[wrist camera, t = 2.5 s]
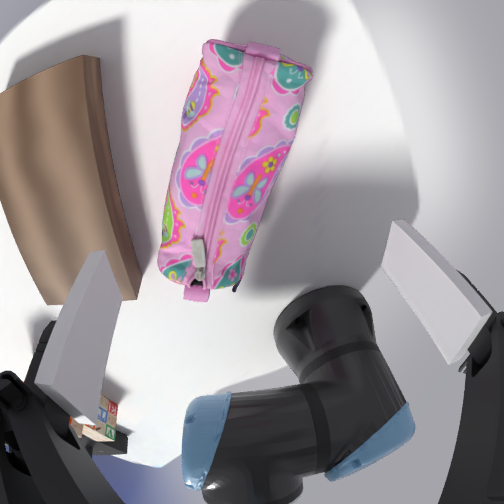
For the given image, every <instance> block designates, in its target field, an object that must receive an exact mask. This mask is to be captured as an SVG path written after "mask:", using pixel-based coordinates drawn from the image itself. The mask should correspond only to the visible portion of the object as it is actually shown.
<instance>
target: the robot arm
mask: <svg viewBox="0 0 504 504" xmlns="http://www.w3.org/2000/svg"><path fill="white" fill-rule="evenodd" d="M381 268H382V269H383V270H384V271H385V273H386V274H387V275H388V277H389V278H390V279H391V281H392V282H393V283H394V285H395V286H396V287H397V289H398V290H399V291H400V293H401V294H402V296H403V297H404V298H405V300H406V301H407V303H408V304H409V305H410V307H411V308H412V310H413V311H414V313H415V314H416V315H417V317H418V318H419V320H420V321H421V323H422V324H423V326H424V327H425V329H426V330H427V332H428V333H429V335H430V336H431V338H432V339H433V341H434V342H435V344H436V346H437V347H438V348H439V350H440V352H441V354H442V355H443V357H444V358H445V360H446V362H447V363H448V365H450V364H451V363H453V362H456V361H458V360H459V359H461V357H462V356H463V355H464V353H465V352H466V351H467V350H468V351H469V353H470V355H469V356H468V357H467V359H466V360H465V361H464V363H463V364H462V365H461V366H460V368H459V372H461V371H462V369H463V368H464V367H465V366H466V369H465V370H464V372H463V373H465V374H466V380H465V391H464V400H463V407H462V414H461V420H460V426H459V431H458V436H457V441H456V445H455V450H454V454H453V458H452V462H451V466H450V469H449V472H448V476H447V479H446V482H445V485H444V488H443V491H442V494H441V497H440V500H439V502H438V504H504V312H499V313H497V312H496V311H495V310H494V308H493V307H492V306H491V305H490V304H489V302H488V301H487V300H486V299H485V298H484V296H483V295H482V294H481V293H480V292H479V291H477V289H476V287H475V286H474V285H473V284H471V282H470V281H469V279H468V278H467V277H466V276H465V275H464V274H462V273H460V272H459V271H458V270H456V269H455V268H454V267H453V266H452V265H451V264H450V263H449V262H448V261H447V260H446V259H445V258H444V257H443V256H442V255H441V254H440V253H439V252H438V251H437V250H436V249H435V248H434V247H433V246H432V245H431V244H430V243H429V242H428V241H427V240H426V239H425V238H424V237H423V236H422V235H421V234H420V233H418V232H417V231H416V230H415V229H414V228H413V227H412V226H411V225H410V224H409V223H408V222H406V221H405V220H404V219H403V220H392V224H391V228H390V232H389V237H388V241H387V245H386V249H385V253H384V256H383V260H382V264H381ZM122 299H123V296H122V294H121V292H120V289H119V287H118V284H117V282H116V279H115V277H114V274H113V272H112V269H111V266H110V264H109V261H108V258H107V255H106V253H105V250H101V251H94V252H90V253H89V255H88V257H87V258H86V260H85V262H84V264H83V266H82V268H81V270H80V272H79V274H78V276H77V278H76V280H75V282H74V284H73V286H72V288H71V290H70V292H69V294H68V296H67V298H66V300H65V303H64V305H63V307H62V309H61V312H60V314H59V316H58V319H57V321H51V322H50V323H49V324H48V326H47V327H46V328H45V329H44V331H43V333H42V335H41V338H40V340H39V344H38V345H37V348H36V353H34V356H33V359H32V361H31V364H30V367H29V370H28V373H27V376H26V379H25V382H24V383H23V381H22V380H21V379H20V378H19V377H18V376H17V375H16V374H15V373H13V372H12V371H4V372H2V373H0V504H125V503H124V502H123V501H122V500H121V498H120V497H119V496H118V495H117V493H116V492H115V491H114V490H113V488H112V487H111V486H110V484H109V483H108V482H107V480H106V479H105V477H104V476H103V475H102V473H101V472H100V470H99V469H98V467H97V466H96V464H95V463H94V461H93V460H92V458H91V457H90V455H89V454H88V452H87V450H86V449H85V447H84V446H83V444H82V442H81V441H80V439H79V437H78V435H77V434H76V432H75V430H74V428H73V427H72V426H71V424H70V423H69V422H70V416H71V417H72V418H73V419H74V420H76V421H77V422H78V423H82V424H89V425H96V424H97V417H98V410H99V403H100V397H101V391H102V385H103V380H104V374H105V369H106V364H107V360H108V355H109V350H110V346H111V342H112V337H113V333H114V329H115V325H116V321H117V317H118V314H119V310H120V306H121V303H122ZM274 339H275V342H276V346H277V349H278V351H279V353H280V355H281V356H282V357H283V359H284V360H285V361H286V363H287V364H288V365H289V367H290V368H291V369H292V370H293V372H294V373H295V374H296V376H297V377H298V378H299V382H300V384H299V385H292V386H286V387H279V388H272V389H266V390H257V391H249V392H240V393H232V392H229V391H228V392H226V393H225V394H216V395H207V396H200V397H197V398H195V399H194V400H193V401H192V402H191V403H190V404H189V406H188V408H187V411H186V415H185V420H184V426H183V437H182V473H183V479H184V482H185V485H186V487H188V488H190V489H194V490H196V491H197V490H201V489H202V494H203V498H204V501H205V502H206V504H293V503H294V502H295V501H297V500H298V499H299V498H300V496H301V495H302V492H303V483H302V478H303V477H306V476H310V475H314V474H318V473H322V472H325V474H324V475H325V477H326V478H328V480H329V481H336V480H338V479H341V478H344V477H346V476H348V475H351V474H353V473H355V472H357V471H359V470H361V469H363V468H365V467H367V466H369V465H371V464H373V463H375V462H376V461H378V460H380V459H382V458H384V457H385V456H387V455H389V454H390V453H392V452H393V451H395V450H396V449H398V448H399V447H401V446H402V445H404V444H405V443H406V442H408V441H409V440H410V439H411V438H412V436H413V434H414V432H415V423H414V420H413V417H412V414H411V412H410V409H409V403H408V402H406V400H405V398H404V396H403V394H402V392H401V390H400V388H399V386H398V384H397V382H396V380H395V378H394V376H393V374H392V372H391V370H390V368H389V366H388V364H387V363H386V361H385V359H384V357H383V355H382V353H381V351H380V350H379V348H378V346H377V344H376V338H375V331H374V325H373V318H372V313H371V309H370V307H369V305H368V303H367V301H366V300H365V298H364V297H363V295H362V294H361V293H360V292H359V291H357V290H355V289H353V288H350V287H346V286H331V287H325V288H321V289H318V290H315V291H312V292H310V293H308V294H306V295H304V296H302V297H300V298H299V299H297V300H296V301H294V302H293V303H292V304H290V305H289V306H288V307H287V308H286V309H285V310H284V311H283V312H282V313H281V315H280V316H279V318H278V319H277V321H276V323H275V326H274ZM5 444H6V445H8V446H9V452H7V451H6V448H5Z"/></svg>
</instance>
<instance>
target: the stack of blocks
mask: <svg viewBox="0 0 504 504" xmlns="http://www.w3.org/2000/svg"><path fill="white" fill-rule="evenodd" d="M32 359H33V358H32ZM30 364H31V363H30ZM29 367H30V366H29ZM28 370H29V369H28ZM27 373H28V372H27ZM26 376H27V375H26ZM25 379H26V378H25ZM24 382H25V381H24ZM117 410H118V406H117V405H116V404H114V403H113V402H111V401H110V400H109V399H107V398H106V397H104V396H103V395H101V397H100V403H99V410H98V417H97V424H96V425H89V424H82V423H78V422H77V421H76V420H74V419H73V418H72V417H71V416H70V422H69V423H70V424H71V426H72V427H73V428H74V430H75V432H76V434H77V435H78V437H79V438H81V437H82V434H84V435H85V436H88V437H89V438H91V439H93V440H95V441H115V434H116V429H115V428H116V420H117Z"/></svg>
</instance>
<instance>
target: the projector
mask: <svg viewBox="0 0 504 504" xmlns="http://www.w3.org/2000/svg"><path fill="white" fill-rule="evenodd" d="M79 439H80V441H81V442H82V444H83V446H84V447H85V449H86V450H87V452H88V454H89V455H90V457H91V458H92V455H116V454H127V446H128V437H127V436H126V435H124V434H122V433H120V432H117V431H116V434H115V441H95V440H93V439H91V438H89V437H88V436H85V435H84V434H82V437H81V438H79Z"/></svg>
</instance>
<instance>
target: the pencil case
mask: <svg viewBox="0 0 504 504" xmlns="http://www.w3.org/2000/svg"><path fill="white" fill-rule="evenodd" d="M202 54H203V58H202V59H201V61H200V66H199V68H198V70H197V71H196V73H195V75H194V79H193V82H192V84H191V87H190V89H189V92H188V95H187V98H186V101H185V105H184V108H183V112H182V120H181V137H180V142H179V146H178V149H177V152H176V156H175V160H174V163H173V167H172V171H171V176H170V182H169V186H168V191H167V196H166V202H165V208H164V214H163V222H162V243H161V246H160V250H159V253H158V261H157V263H158V267H159V270H160V271H161V273H162V274H163V275H164V276H165V277H166V278H168V279H169V280H171V281H173V282H175V283H178V284H182V285H185V289H184V297H183V299H185V300H190V301H197V302H207V301H208V298H209V295H210V289H220V288H225V287H229V286H232V285H234V284H235V285H234V286H233V288H232V291H233V292H236V289H237V287H238V285H239V283H240V281H241V279H242V277H243V274H244V270H245V265H246V259H247V257H248V254H249V251H250V247H251V244H252V242H253V240H254V237H255V235H256V232H257V229H258V227H259V224H260V221H261V218H262V214H263V211H264V208H265V205H266V202H267V199H268V196H269V194H270V192H271V189H272V187H273V185H274V183H275V181H276V179H277V176H278V174H279V172H280V170H281V168H282V166H283V164H284V162H285V160H286V158H287V155H288V153H289V150H290V148H291V145H292V143H293V141H294V138H295V134H296V130H297V125H298V121H299V116H300V112H301V108H302V104H303V100H304V85H305V84H306V83H307V82H308V81H310V80H311V79H312V77H313V75H312V69H311V68H310V67H308V66H306V65H303V64H301V63H298V62H294V61H293V60H291V59H289V58H287V57H285V56H283V55H281V54H280V49H278V48H274V47H271V46H267V45H263V44H258V43H253V42H248V45H242V44H232V43H228V42H224V41H220V40H215V39H211V40H208V41H207V42H206V43H204V44H203V46H202Z"/></svg>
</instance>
